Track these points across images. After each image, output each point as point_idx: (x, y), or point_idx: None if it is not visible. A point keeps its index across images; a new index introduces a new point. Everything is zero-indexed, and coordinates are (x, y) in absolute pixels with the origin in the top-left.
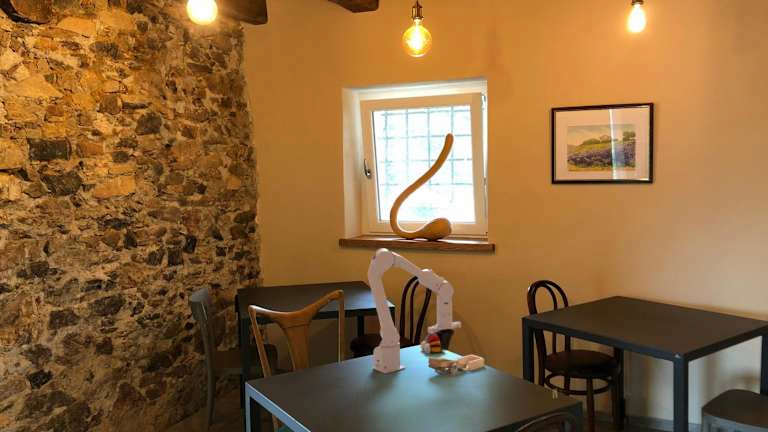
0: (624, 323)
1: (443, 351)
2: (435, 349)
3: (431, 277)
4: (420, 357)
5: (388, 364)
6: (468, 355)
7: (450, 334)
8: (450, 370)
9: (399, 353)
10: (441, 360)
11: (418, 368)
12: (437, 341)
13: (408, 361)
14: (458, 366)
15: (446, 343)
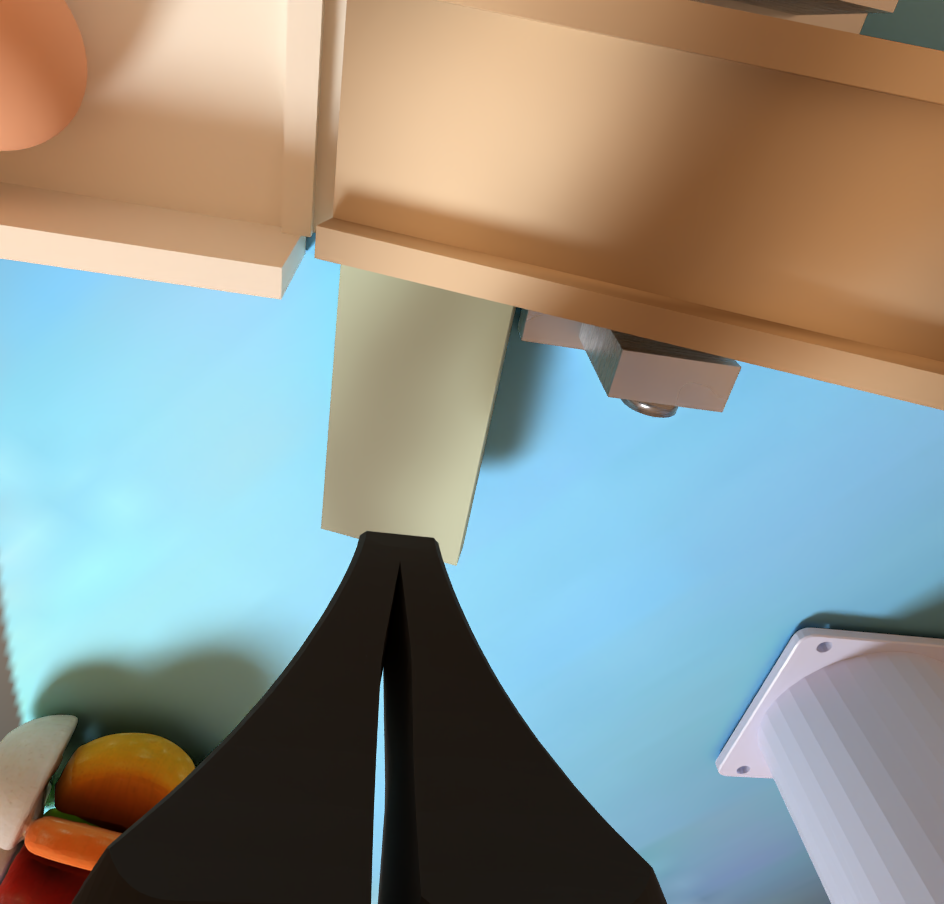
0: None
1: (51, 715)
2: (163, 767)
3: None
4: (381, 737)
5: None
6: None
7: (313, 834)
8: (821, 14)
9: (935, 813)
10: (767, 327)
11: (712, 551)
12: (83, 865)
13: (564, 729)
14: None
15: (435, 628)
